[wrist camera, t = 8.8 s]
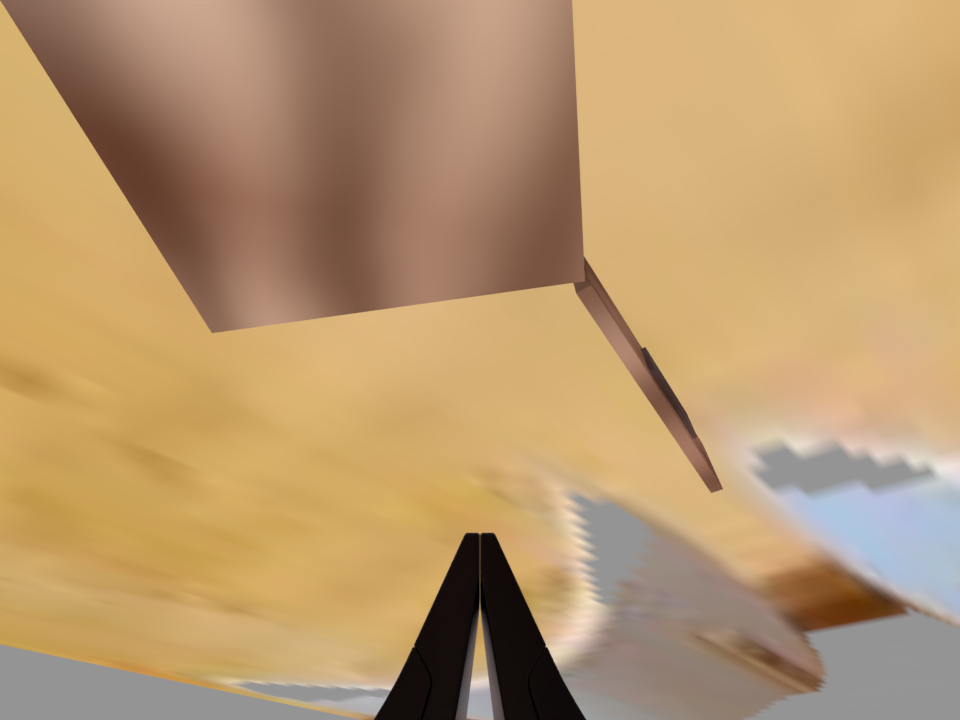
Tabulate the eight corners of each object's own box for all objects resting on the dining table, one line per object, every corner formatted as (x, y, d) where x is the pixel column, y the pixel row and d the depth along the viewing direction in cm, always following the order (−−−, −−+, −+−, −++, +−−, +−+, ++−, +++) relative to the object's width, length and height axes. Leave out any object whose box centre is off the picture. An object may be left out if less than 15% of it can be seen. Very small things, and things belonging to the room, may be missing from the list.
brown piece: (255, 282, 21) (211, 333, 18) (66, -77, 14) (-63, -99, 11) (570, 233, 19) (584, 281, 16) (542, -210, 12) (559, -284, 9)
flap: (706, 442, 26) (727, 487, 23) (691, 447, 26) (711, 493, 24) (584, 246, 19) (596, 281, 17) (566, 256, 19) (575, 293, 17)
